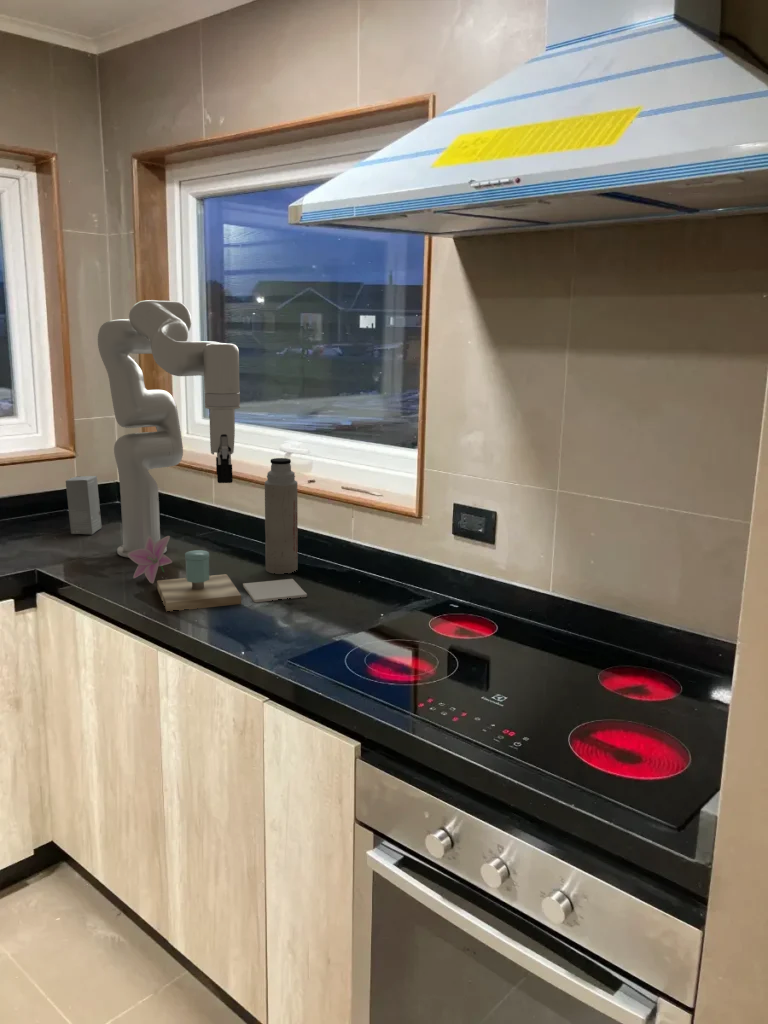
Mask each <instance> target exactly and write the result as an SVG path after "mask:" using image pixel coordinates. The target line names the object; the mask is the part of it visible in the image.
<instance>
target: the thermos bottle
mask: <svg viewBox="0 0 768 1024" xmlns="http://www.w3.org/2000/svg"><path fill="white" fill-rule="evenodd" d="M291 461H292V460H291V459H290V458H287V457H276V458H275V457H274V458H271V459H270V463H271V465H270V470H269V471H268V472H267V475H266V478H267V480H265V481H264V532H265V533H264V534H265V544H264V545H265V547H264V549H265V553H264V554H265V558H264V559H265V560H264V561H265V571H266V572H268V573H270V574H274V573H275V575H285V574H284V573H288V574H292V572H293V573H295V572H297V571H298V567H299V566H298V562H299V561H298V559H299V558H298V557H299V555H298V545H299V544H298V542H299V541H298V536H299V534H298V530H299V529H298V528H299V527H298V519H299V518H298V481H297V480H295V478H296V475H295V472H294V471H293V470H292V465H291V463H292V462H291ZM296 570H297V571H296ZM294 571H295V572H294Z"/></svg>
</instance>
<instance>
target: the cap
mask: <svg viewBox="0 0 768 1024" xmlns="http://www.w3.org/2000/svg"><path fill="white" fill-rule="evenodd" d="M184 559H185V578H186V579H187V581H188V582H193V583H199V582H205V581H207V580H209V576H210V552H209V551H207V550H202V549H199V550H198V549H197V550H190V551H189V550H188V551H186V552H185V553H184Z"/></svg>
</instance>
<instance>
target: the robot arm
mask: <svg viewBox="0 0 768 1024" xmlns="http://www.w3.org/2000/svg"><path fill="white" fill-rule="evenodd" d="M191 327H192V315H191V312H190V310H189V308H188V307H187V306H186V305H185V304H184V303H183V302H181V301H177V300H155V299H151V300H150V299H149V300H147V299H146V300H140V301H138V302H136V303H135V304H134V305H133V306H132V307H131V308H130V310H129V314H128V318H127V319H125V318H124V319H123V318H122V319H113V320H112V319H111V320H109V321H105V322H104V323H103V324H101V326H100V328H99V329H98V333H97V348H98V353H99V355H100V358H101V361H102V364H103V365H104V368H105V369H106V373H107V375H108V376H107V377H108V381H109V388H110V394H111V401H112V407H113V412H114V413H113V414H114V417H115V420H116V423H117V424H118V425H119V426H120V427H122V428H125V429H137V428H151V427H155V428H156V431H144V432H133V433H128V434H124V435H122V436H119V437H118V438H117V440H116V441H115V443H114V446H113V454H114V457H115V458H114V459H115V463H116V467H117V472H118V480H119V493H120V506H121V507H120V509H121V510H120V511H121V513H120V514H121V529H122V530H121V531H122V545H120V546H118V547H117V549H116V551H117V555H119V556H120V557H124V558H129V557H128V553H129V552H131V551H134V550H137V549H145V544H146V541H147V538H148V536H150V537H151V538H152V539H153V541H154V543H156V542H157V541H159V540H160V539H161V528H160V527H161V524H160V501H159V500H160V499H159V498H160V497H159V487H158V483H157V480H156V479H155V478H154V477H153V476H152V474H150V471H149V470H154V469H160V468H168V467H175V466H177V465H179V464H180V463H181V461H182V459H183V455H184V446H183V437H182V431H181V425H180V419H179V411H178V406H177V403H176V400H175V399H174V397H173V396H172V394H171V393H170V392H168V391H167V390H163V389H147V388H146V385H145V379H144V374H143V370H142V369H141V367H140V366H139V364H138V363H137V362H136V361H135V360H134V359H133V358H132V357H131V356H130V355H133V354H134V355H135V354H136V355H137V354H138V355H143V354H144V355H147V354H149V355H150V354H151V355H152V356H153V360H154V362H155V363H156V365H158V366H159V367H160V368H161V369H162V370H164V371H165V372H166V373H168V374H169V375H172V376H175V377H194V376H195V377H198V376H199V377H200V376H202V377H203V383H204V386H203V387H204V391H203V392H204V408H205V409H208V410H209V442H210V443H209V444H210V454H211V455H215V453H216V457H215V465H216V466H215V468H216V475H217V483H218V484H232V483H233V464H232V457H231V456H232V455H233V454H234V453H235V451H234V450H235V437H236V436H235V433H236V432H235V431H236V428H235V427H236V426H235V423H236V422H235V421H236V420H235V419H236V418H235V414H236V413H235V410H236V409H237V410H238V409H240V408H241V397H240V396H241V392H240V351H239V348H238V346H237V345H236V344H234V343H225V342H218V341H213V340H211V341H202V340H198V341H197V340H196V341H195V340H194V341H193V340H192V341H190V340H188V338H189V332H190V330H191ZM167 548H168V547H167V545H166V548H165V550H164V553H163V554H165V553H166V552H167V550H168V549H167ZM129 559H130V558H129Z"/></svg>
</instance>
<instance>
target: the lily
mask: <svg viewBox="0 0 768 1024" xmlns="http://www.w3.org/2000/svg"><path fill="white" fill-rule="evenodd" d="M170 538H171V536H170V535H167V536H165V537H163V538H160V540H159V541H157V542H156V543H154V541H153V539H152V538H151V537H150V536H148V538H147V541H146V544H145V549H137V550H134V551H131V552H129V553H128V557H129V559H130V560H131V561H132V562H134V563H135V564H137V567H136V569H135V571H134V573H133V576H132V578H133V579H136V578H138V577H139V576H141V575H145V577H146V579H147V580H148V581H149V583H150V584H154V583H155V579H156V576H157V573H158V569H159V567H160V569H161V571H162V573H165V570H164V568H163V566H166V565H169V564H172V563H173V560H172V559H171V558H170V557H168V556H167V555H166V554H165V553H164V550H165V548H166V546H167V545H168V543H169V541H170ZM128 557H127V558H128Z"/></svg>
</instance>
